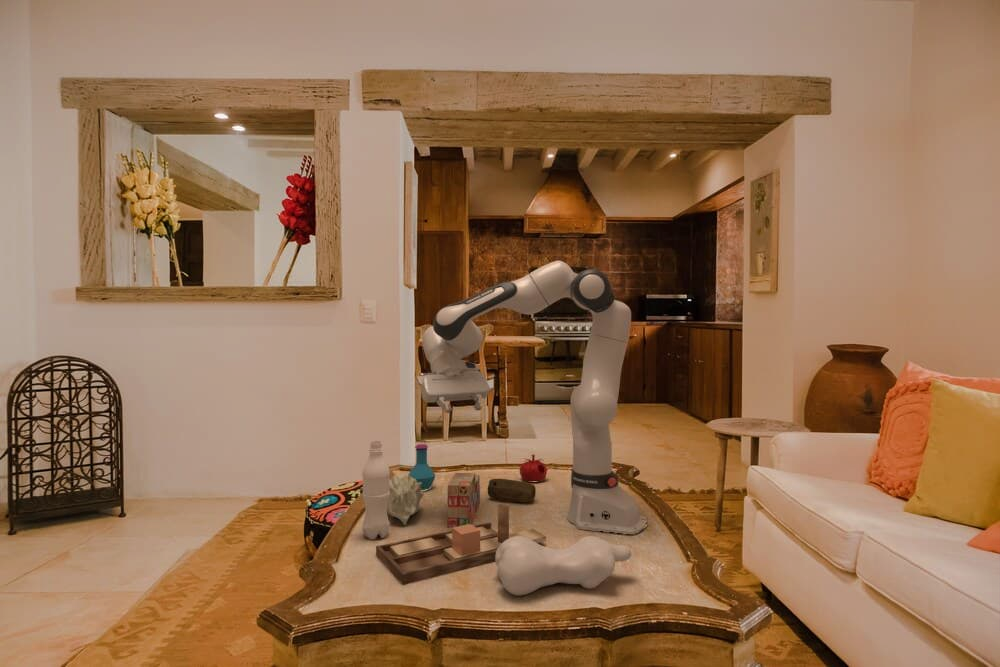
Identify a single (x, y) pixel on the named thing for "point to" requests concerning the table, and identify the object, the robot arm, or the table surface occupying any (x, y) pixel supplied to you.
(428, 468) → the perfume bottle
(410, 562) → the board
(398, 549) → the broken strip
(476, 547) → the terracotta cube
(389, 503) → the wavy plaster lump
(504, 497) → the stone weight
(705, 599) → the table surface
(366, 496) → the water bottle
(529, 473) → the pomegranate
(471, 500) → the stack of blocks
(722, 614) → the table surface
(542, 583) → the torso sculpture
